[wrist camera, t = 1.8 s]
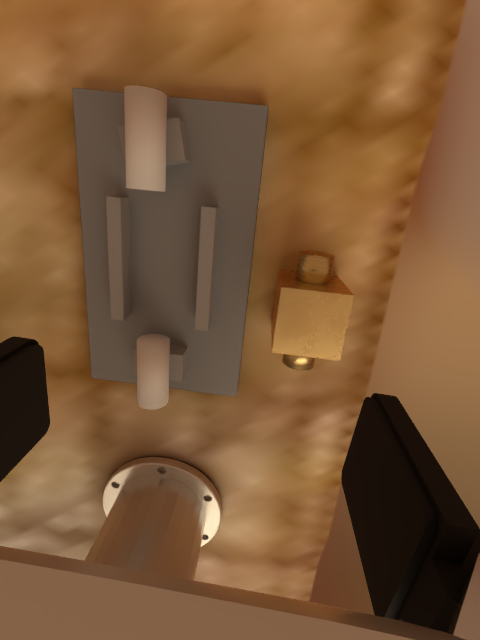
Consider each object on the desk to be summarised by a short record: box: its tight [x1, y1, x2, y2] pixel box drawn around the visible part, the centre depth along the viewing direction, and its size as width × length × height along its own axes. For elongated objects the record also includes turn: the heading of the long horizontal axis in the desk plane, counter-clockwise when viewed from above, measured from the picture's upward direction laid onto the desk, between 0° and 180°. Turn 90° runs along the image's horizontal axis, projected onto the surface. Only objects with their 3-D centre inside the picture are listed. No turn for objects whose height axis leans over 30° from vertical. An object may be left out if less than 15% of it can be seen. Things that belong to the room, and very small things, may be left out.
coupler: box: [271, 251, 354, 370], centre depth 24 cm, size 8×5×6 cm, turn 174°
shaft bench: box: [72, 85, 268, 410], centre depth 24 cm, size 22×13×5 cm, turn 175°
